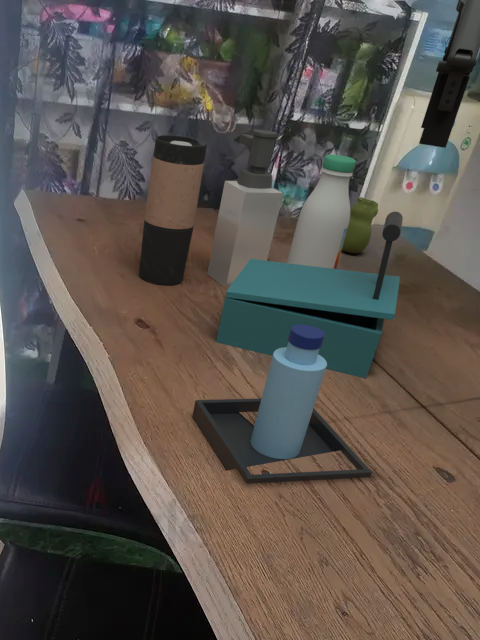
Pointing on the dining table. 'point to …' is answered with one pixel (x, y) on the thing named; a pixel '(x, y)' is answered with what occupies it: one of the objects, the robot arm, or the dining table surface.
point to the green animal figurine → (360, 225)
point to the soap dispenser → (246, 213)
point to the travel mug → (171, 208)
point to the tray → (237, 453)
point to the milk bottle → (324, 217)
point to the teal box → (276, 321)
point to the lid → (324, 284)
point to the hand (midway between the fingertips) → (432, 137)
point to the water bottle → (290, 394)
